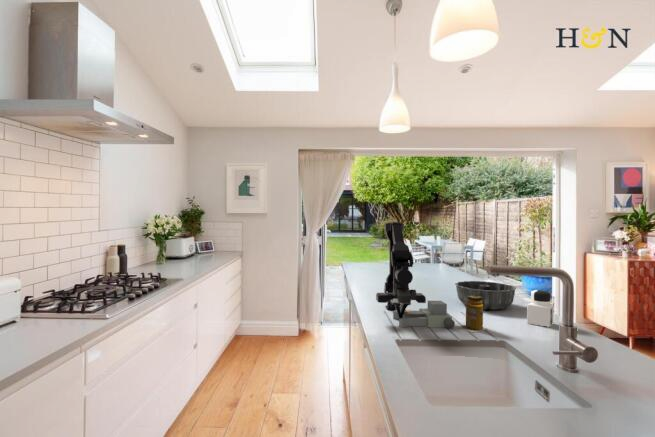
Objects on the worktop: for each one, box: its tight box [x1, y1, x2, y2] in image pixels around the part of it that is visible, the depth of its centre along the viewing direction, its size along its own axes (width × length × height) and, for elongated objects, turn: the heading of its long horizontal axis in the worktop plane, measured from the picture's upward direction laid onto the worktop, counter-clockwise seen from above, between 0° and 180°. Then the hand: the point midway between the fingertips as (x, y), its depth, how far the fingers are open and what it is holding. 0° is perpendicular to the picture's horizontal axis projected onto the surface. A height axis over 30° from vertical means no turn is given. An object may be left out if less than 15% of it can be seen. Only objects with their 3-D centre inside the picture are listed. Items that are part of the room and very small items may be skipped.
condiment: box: [457, 295, 489, 333], centre depth 131 cm, size 7×8×12 cm
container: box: [526, 289, 555, 327], centre depth 138 cm, size 8×8×13 cm
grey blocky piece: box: [392, 300, 456, 329], centre depth 137 cm, size 15×20×8 cm
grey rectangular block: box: [403, 309, 424, 318], centre depth 137 cm, size 4×7×4 cm, turn 95°
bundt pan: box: [454, 280, 517, 311], centre depth 165 cm, size 26×26×10 cm
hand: (400, 319), depth 137 cm, fingers closed
